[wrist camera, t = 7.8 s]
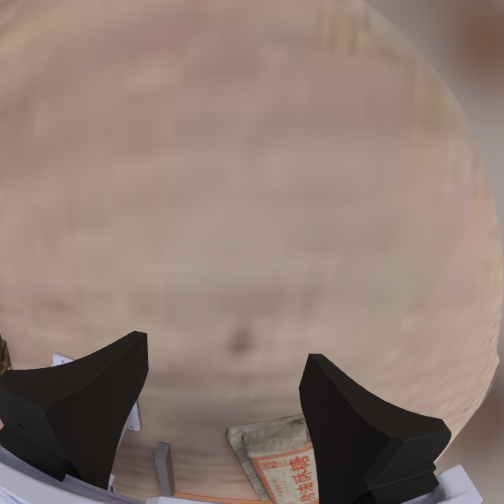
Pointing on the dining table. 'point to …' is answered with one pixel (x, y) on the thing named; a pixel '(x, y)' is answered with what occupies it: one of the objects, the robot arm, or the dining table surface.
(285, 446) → the packaged product
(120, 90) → the dining table surface
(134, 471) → the dining table surface
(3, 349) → the food dish
